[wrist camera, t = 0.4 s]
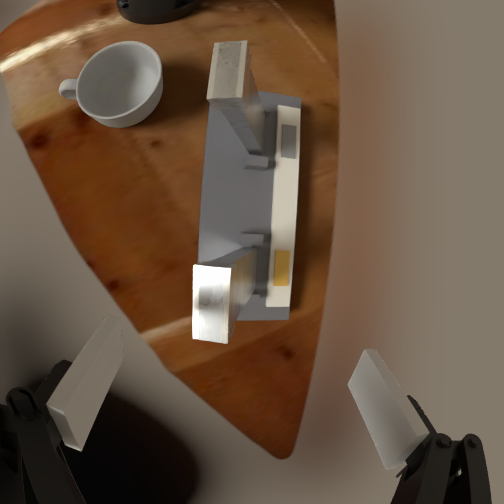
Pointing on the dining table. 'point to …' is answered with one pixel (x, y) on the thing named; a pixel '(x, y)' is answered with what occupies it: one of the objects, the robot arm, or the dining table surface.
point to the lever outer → (222, 293)
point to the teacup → (118, 84)
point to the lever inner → (237, 93)
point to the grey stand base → (254, 201)
